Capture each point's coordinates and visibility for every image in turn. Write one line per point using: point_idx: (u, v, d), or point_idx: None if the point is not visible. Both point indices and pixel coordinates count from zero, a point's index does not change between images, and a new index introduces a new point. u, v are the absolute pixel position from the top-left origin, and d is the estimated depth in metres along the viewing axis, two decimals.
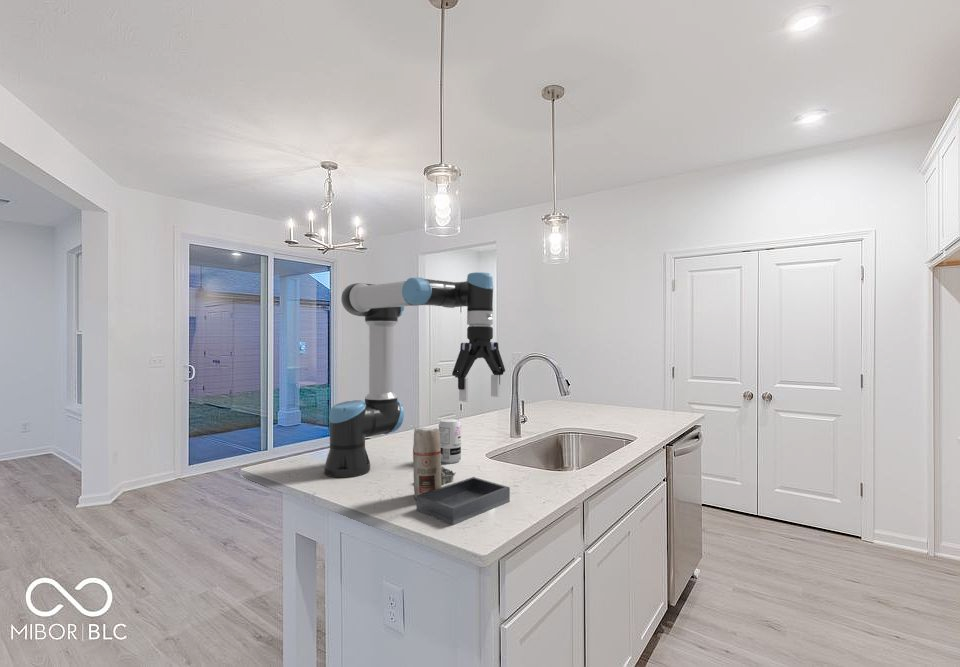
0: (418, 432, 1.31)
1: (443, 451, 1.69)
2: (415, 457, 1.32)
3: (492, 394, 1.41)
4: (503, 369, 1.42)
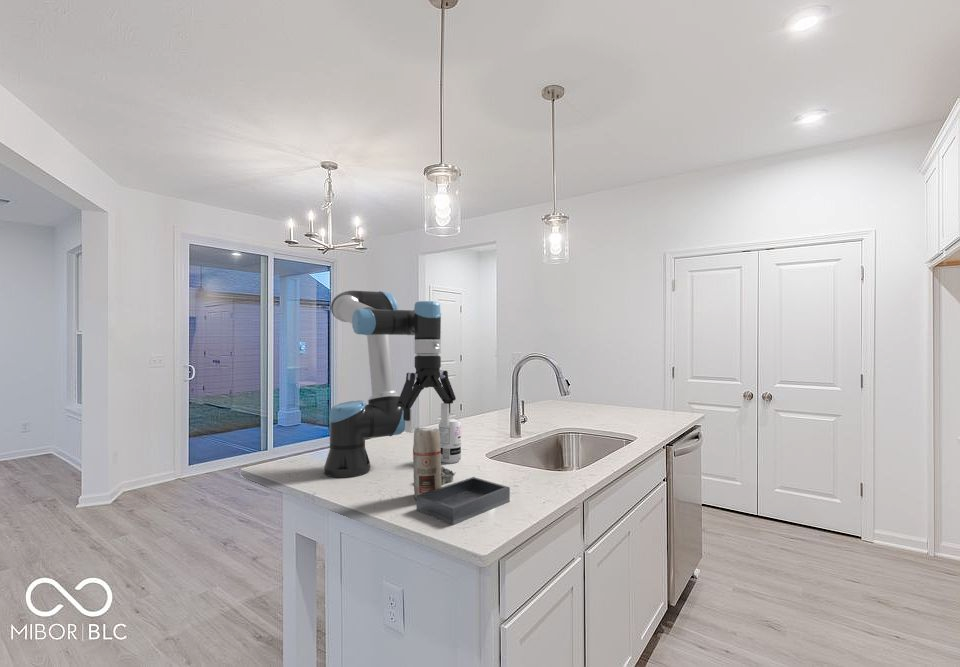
0: (418, 432, 1.31)
1: (443, 451, 1.69)
2: (415, 457, 1.32)
3: (442, 423, 1.40)
4: (453, 397, 1.40)
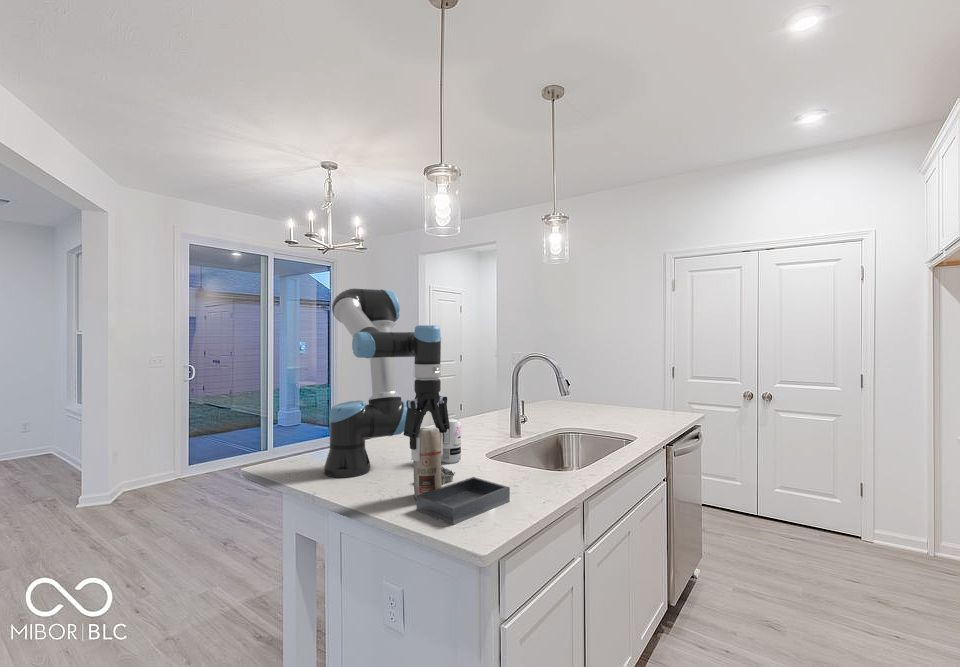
0: None
1: (443, 451, 1.69)
2: None
3: None
4: (447, 426, 1.39)
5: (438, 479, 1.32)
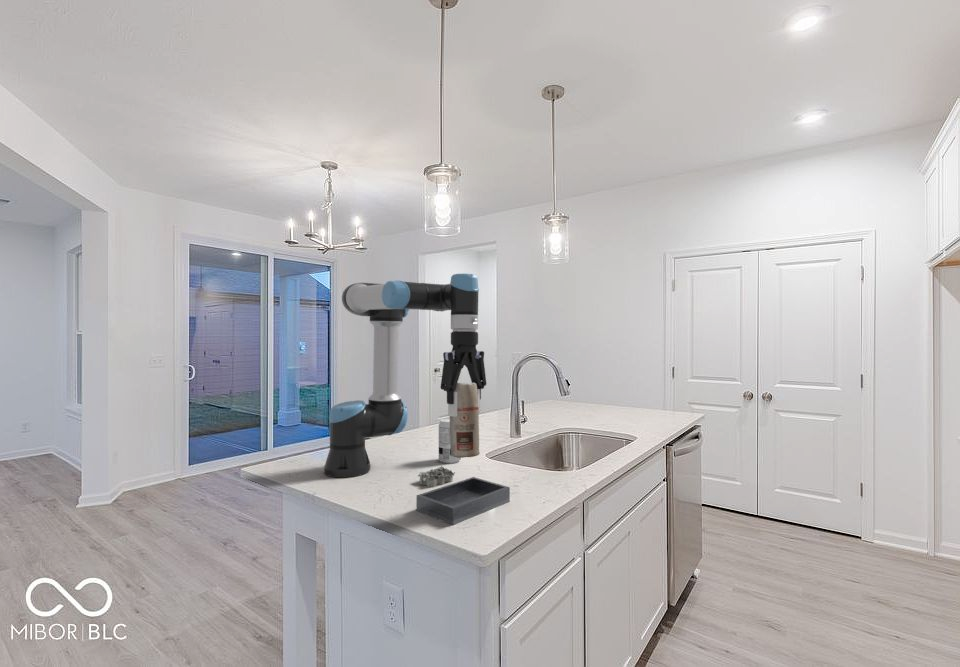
0: None
1: (443, 451, 1.69)
2: None
3: None
4: (484, 382, 1.32)
5: (476, 436, 1.25)
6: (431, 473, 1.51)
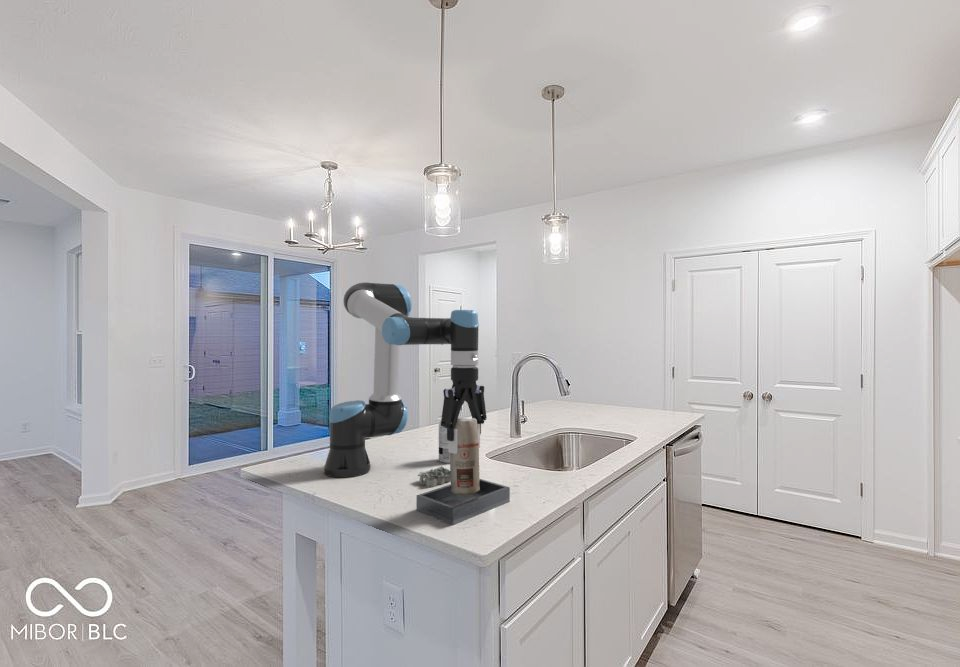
0: None
1: (443, 451, 1.69)
2: None
3: None
4: (484, 417, 1.32)
5: (476, 472, 1.25)
6: (431, 473, 1.51)
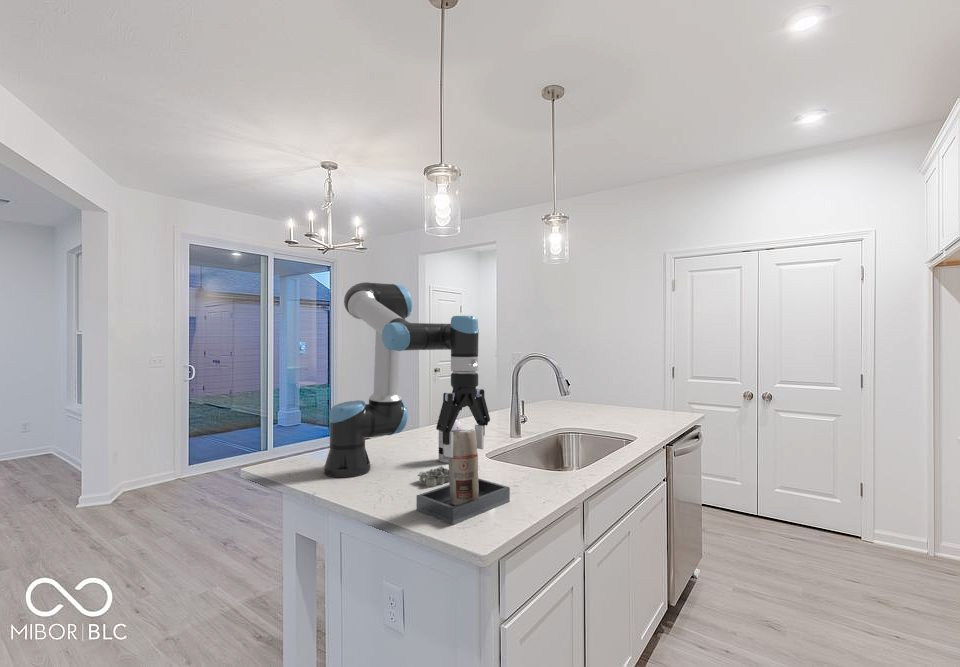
0: (454, 434, 1.24)
1: (443, 451, 1.69)
2: (451, 460, 1.25)
3: None
4: (488, 419, 1.33)
5: (476, 483, 1.25)
6: (431, 473, 1.51)
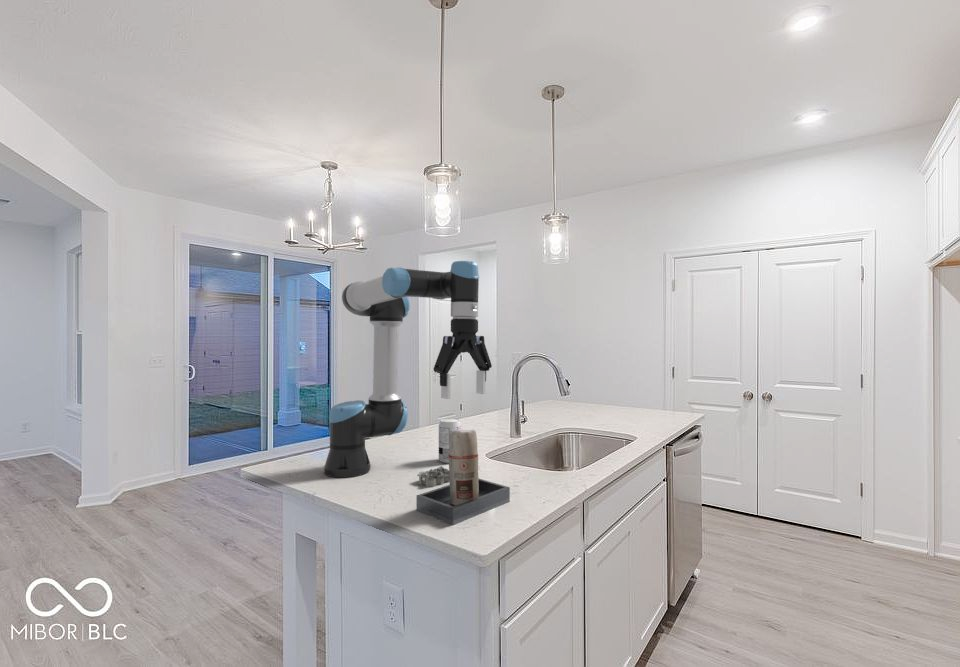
0: (455, 434, 1.24)
1: (443, 451, 1.69)
2: (452, 460, 1.25)
3: (477, 391, 1.33)
4: (489, 364, 1.34)
5: (476, 484, 1.25)
6: (430, 473, 1.51)
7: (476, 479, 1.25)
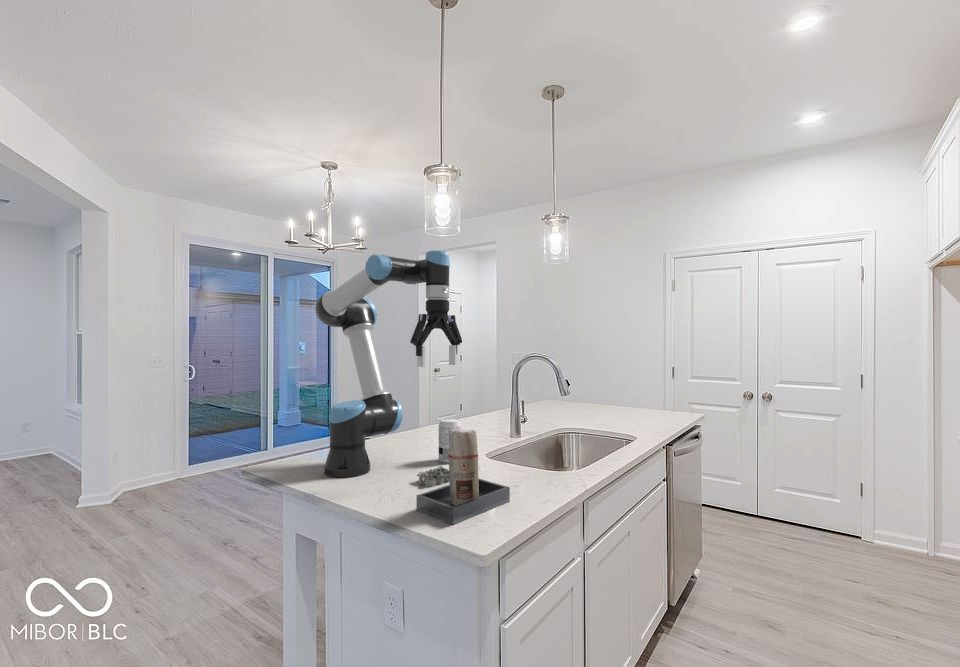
0: (455, 434, 1.24)
1: (443, 451, 1.69)
2: (452, 460, 1.25)
3: (450, 363, 1.55)
4: (460, 340, 1.56)
5: (476, 484, 1.25)
6: (430, 473, 1.51)
7: (476, 479, 1.25)
